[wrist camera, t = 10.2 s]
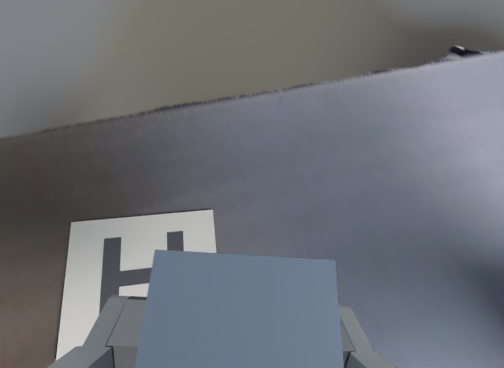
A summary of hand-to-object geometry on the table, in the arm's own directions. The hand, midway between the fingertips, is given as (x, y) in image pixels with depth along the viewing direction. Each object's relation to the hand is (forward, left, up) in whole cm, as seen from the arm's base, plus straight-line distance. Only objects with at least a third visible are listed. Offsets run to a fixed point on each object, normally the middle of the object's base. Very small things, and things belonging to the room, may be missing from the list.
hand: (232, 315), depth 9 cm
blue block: (0, +1, -7) cm, 7 cm away
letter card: (+7, -4, -20) cm, 22 cm away
